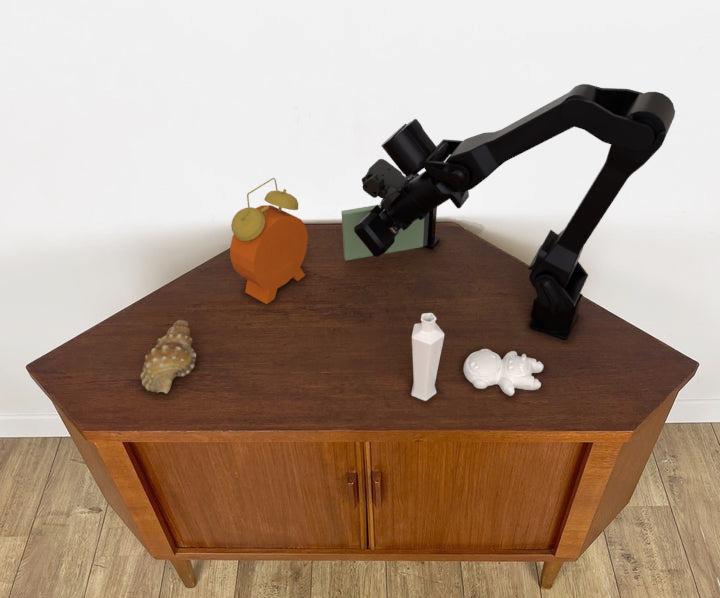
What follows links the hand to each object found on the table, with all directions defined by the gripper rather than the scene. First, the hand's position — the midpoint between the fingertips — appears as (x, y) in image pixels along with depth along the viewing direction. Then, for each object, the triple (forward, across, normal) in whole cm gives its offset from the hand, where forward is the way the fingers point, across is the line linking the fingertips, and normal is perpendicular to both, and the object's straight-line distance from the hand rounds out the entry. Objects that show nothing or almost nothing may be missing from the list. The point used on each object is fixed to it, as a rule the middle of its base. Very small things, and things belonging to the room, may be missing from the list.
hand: (366, 232), depth 118 cm
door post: (0, -11, +10) cm, 15 cm away
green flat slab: (+3, -4, +5) cm, 7 cm away
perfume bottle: (-11, +23, +22) cm, 34 cm away
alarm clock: (+13, +13, -3) cm, 19 cm away
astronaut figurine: (-18, +14, +28) cm, 36 cm away
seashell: (+15, +38, -5) cm, 41 cm away
